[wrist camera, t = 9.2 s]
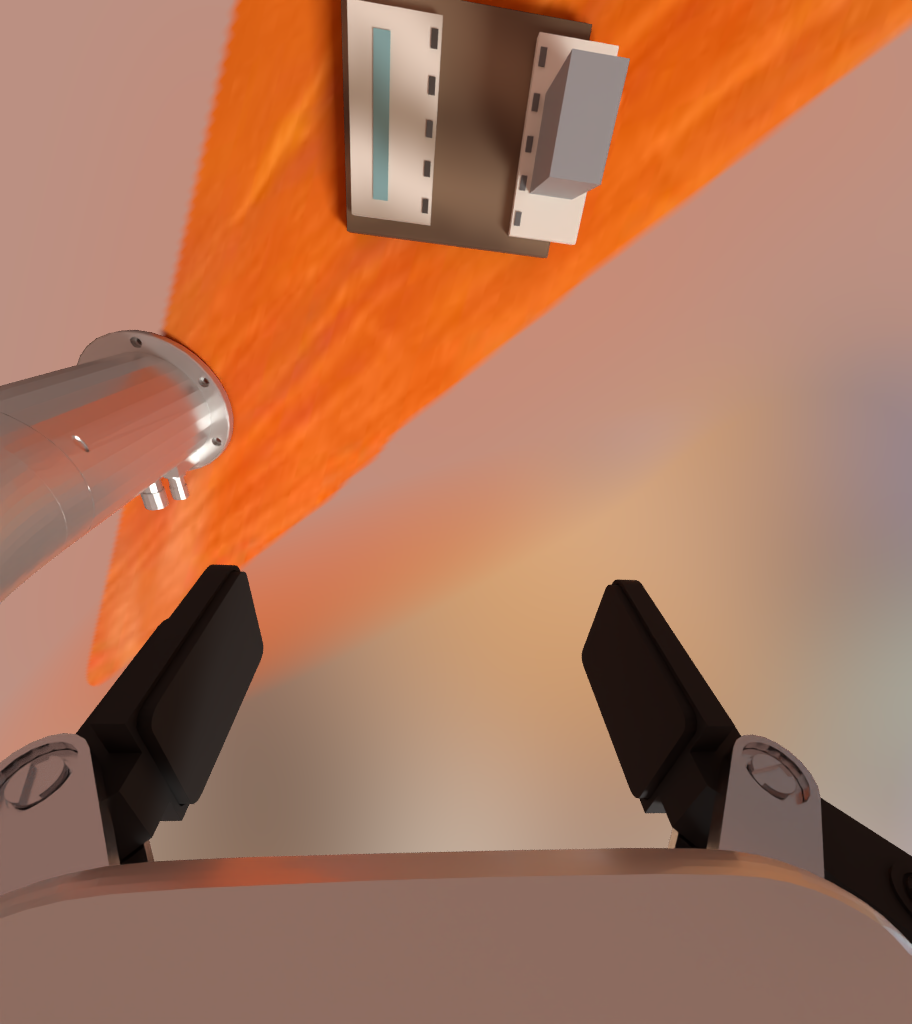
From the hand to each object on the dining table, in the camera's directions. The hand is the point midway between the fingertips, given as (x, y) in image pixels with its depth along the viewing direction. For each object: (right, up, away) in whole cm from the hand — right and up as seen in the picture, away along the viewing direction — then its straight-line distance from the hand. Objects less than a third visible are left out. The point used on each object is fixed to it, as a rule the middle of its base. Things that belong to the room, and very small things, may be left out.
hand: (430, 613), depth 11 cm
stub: (+7, +27, +16) cm, 33 cm away
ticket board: (+1, +29, +17) cm, 33 cm away
